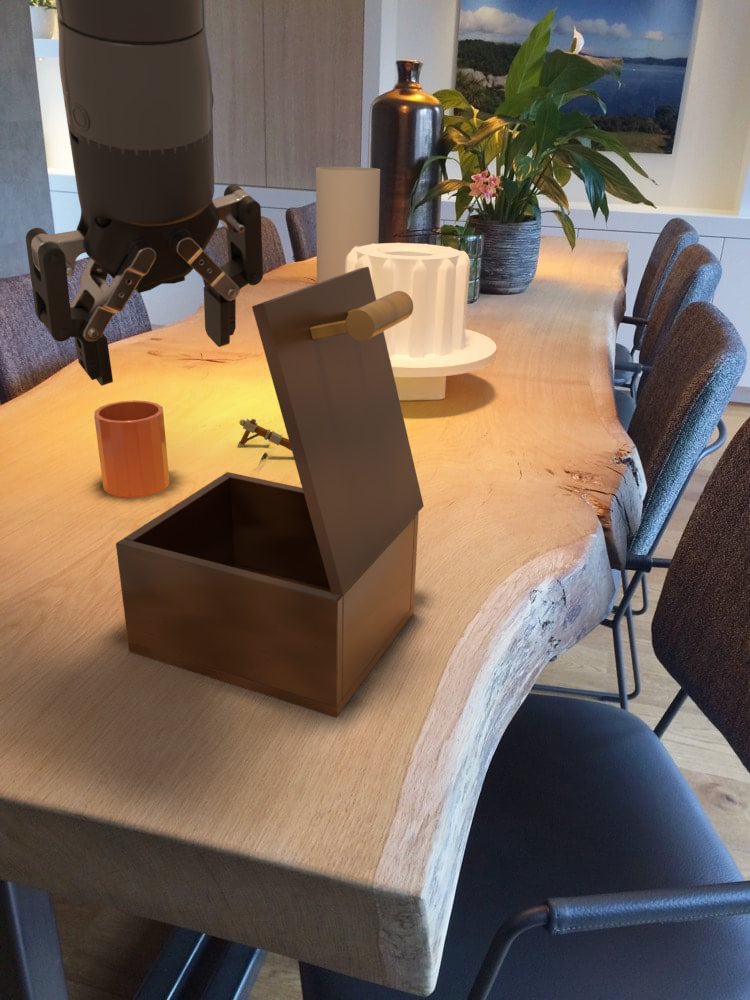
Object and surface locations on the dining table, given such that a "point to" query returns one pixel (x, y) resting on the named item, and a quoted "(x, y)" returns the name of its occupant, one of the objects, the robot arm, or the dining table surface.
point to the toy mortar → (267, 434)
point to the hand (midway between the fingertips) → (161, 358)
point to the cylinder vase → (344, 215)
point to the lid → (343, 415)
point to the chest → (260, 595)
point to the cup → (132, 448)
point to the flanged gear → (425, 315)
